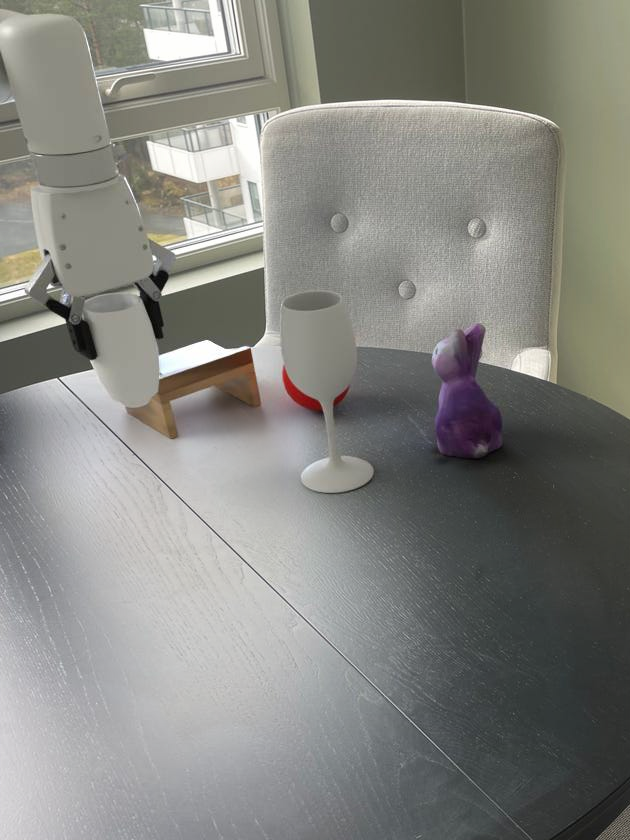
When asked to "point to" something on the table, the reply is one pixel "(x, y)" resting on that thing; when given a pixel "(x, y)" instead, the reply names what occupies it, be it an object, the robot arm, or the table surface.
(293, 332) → the wineglass
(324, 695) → the table surface
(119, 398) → the cup
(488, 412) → the figurine
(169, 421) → the stand
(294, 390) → the ornament
